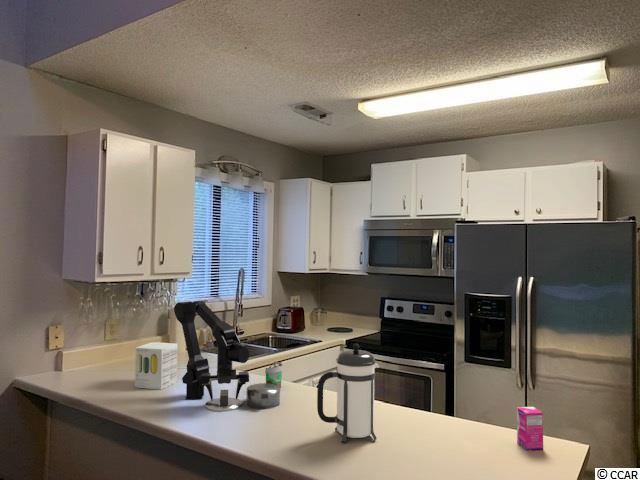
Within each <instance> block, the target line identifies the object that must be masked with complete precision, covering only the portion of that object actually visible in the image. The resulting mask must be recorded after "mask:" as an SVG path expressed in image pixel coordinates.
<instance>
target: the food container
mask: <svg viewBox="0 0 640 480" xmlns="http://www.w3.org/2000/svg"><path fill="white" fill-rule="evenodd" d="M283 371H284V365H283V363H281V362H277V361H273V363H272V365H270V366H268V367H265V383H267V384H275V385H278V386H279V387H280V389H281V387H282V377H283V375H282V374H283Z"/></svg>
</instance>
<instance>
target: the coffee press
mask: <svg viewBox="0 0 640 480" xmlns="http://www.w3.org/2000/svg"><path fill="white" fill-rule="evenodd" d="M335 361H336V364H337V367H336V371H334V372H333V371H328V372H325V373H323V375H321V376H320V378H319V380H318V383H317V391H316V392H317V393H316V397H317V398H316V399H317V400H316V402H317V403H316V405H317V406H316V407H317V415H318V417H319V419H320V420H321V421H323V422H325V423H330V424H331V423H332V424H333V423H335V424H336V427H335V428H334V430H335V432H336V433H339V434H340V435H341V436H342V437H341V443H342V444H348V442H349V439H351V438H352V439H354V438H355V439H360V438H365V437H366V438H368V440H369V441H370V442H372V443H374V442H376V441H377V436H376V435H375V432H374V429H375V425H374V424H375V378H376V371H375V369H379V368H380V366H379V364H378V363H377V360H376V359H375V356H374V355H373V354H372V353H371V352H369V351H367V350H362V349H360V345H359V343H353V345H352V349H348V350H347V349H346V350H344V351H341V352H340V353H339V354H338V356H337V358H336V359H335ZM333 378H337V379H336V380H337V381H336V382H337V383H336V386H337V387H336V389H337V390H336V391H337V392H336V416H327V415H325V413H324V384H325V383H326V381H327V380H328V379H333ZM371 435H372V436H371Z"/></svg>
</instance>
